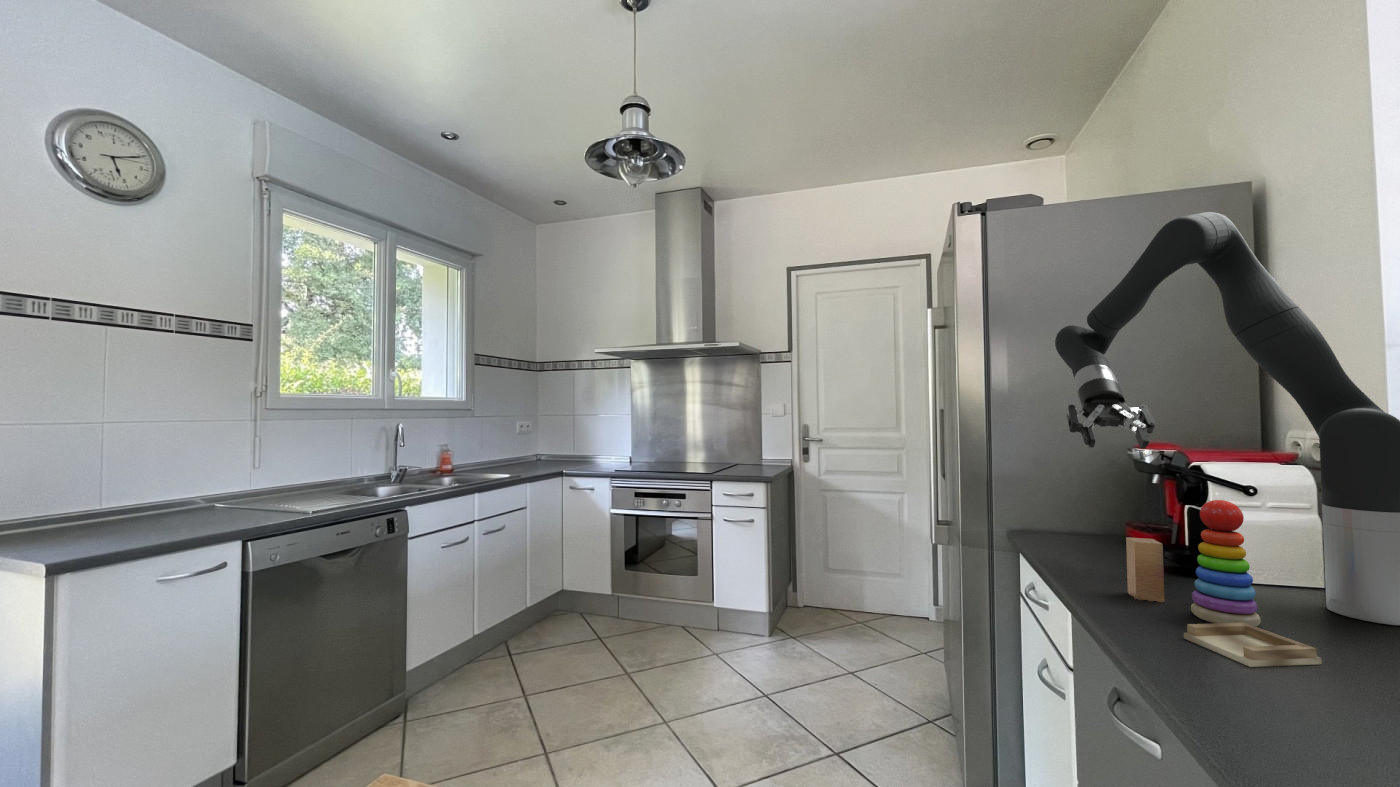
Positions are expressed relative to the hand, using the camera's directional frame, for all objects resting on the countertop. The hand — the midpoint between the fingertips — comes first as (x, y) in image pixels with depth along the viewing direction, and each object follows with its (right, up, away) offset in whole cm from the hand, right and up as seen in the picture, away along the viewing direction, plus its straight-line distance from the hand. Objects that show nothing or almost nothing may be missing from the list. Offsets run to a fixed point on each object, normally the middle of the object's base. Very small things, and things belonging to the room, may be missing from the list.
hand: (1118, 445), depth 109 cm
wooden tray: (-8, -25, -33) cm, 42 cm away
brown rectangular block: (-4, -26, -12) cm, 29 cm away
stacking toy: (0, -26, -22) cm, 34 cm away
